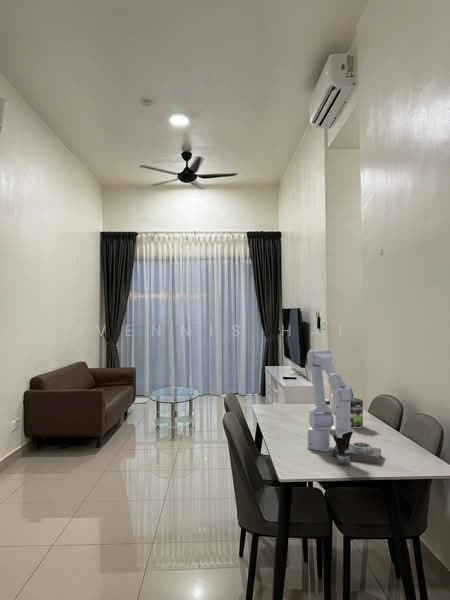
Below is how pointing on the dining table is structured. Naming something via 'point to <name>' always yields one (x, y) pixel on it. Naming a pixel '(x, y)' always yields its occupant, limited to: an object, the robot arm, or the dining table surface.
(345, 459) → the lens
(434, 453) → the dining table surface
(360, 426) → the coffee can
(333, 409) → the toilet tissue
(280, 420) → the dining table surface
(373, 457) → the camera body
